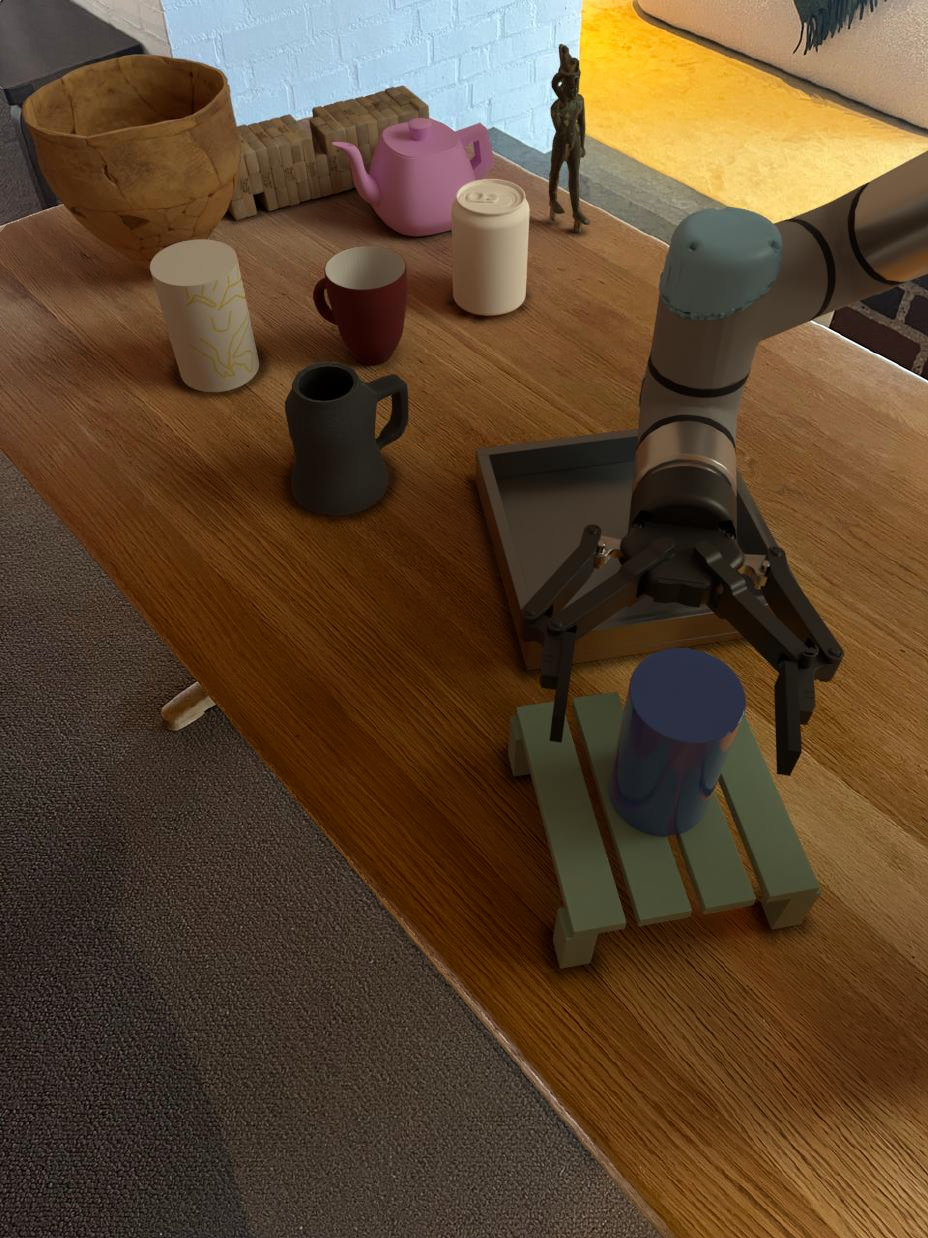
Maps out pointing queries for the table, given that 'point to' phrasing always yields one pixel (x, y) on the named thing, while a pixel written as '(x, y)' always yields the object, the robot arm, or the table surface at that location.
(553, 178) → the statue
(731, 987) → the table surface
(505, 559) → the tray
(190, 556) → the table surface
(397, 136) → the teapot
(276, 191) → the block tower
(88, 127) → the bowl
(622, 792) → the navy blue cylinder
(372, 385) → the mug
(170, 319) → the cream marbled cylinder
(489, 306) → the beverage can
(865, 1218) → the table surface
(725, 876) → the rack
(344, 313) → the mug
